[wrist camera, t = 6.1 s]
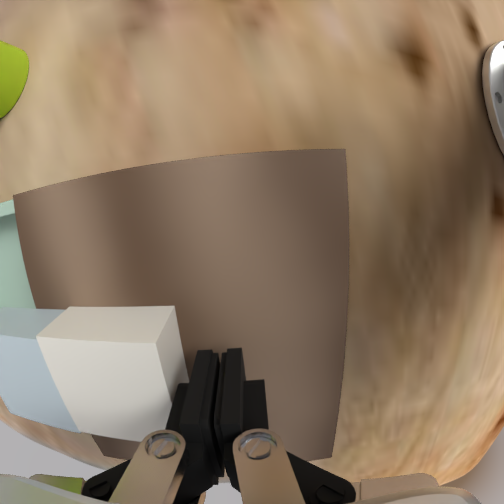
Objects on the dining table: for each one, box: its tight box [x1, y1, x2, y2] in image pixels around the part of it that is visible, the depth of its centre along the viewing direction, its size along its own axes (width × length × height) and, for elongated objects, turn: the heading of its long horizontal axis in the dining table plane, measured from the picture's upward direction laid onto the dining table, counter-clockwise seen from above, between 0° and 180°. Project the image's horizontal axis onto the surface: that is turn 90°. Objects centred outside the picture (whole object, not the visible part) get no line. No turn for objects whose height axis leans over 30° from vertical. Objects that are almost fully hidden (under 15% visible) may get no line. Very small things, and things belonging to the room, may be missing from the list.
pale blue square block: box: [0, 307, 81, 433], centre depth 11 cm, size 5×5×3 cm
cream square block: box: [36, 306, 189, 442], centre depth 11 cm, size 5×5×3 cm
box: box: [0, 200, 36, 309], centre depth 16 cm, size 12×16×3 cm
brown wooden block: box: [13, 149, 349, 461], centre depth 15 cm, size 14×16×6 cm
